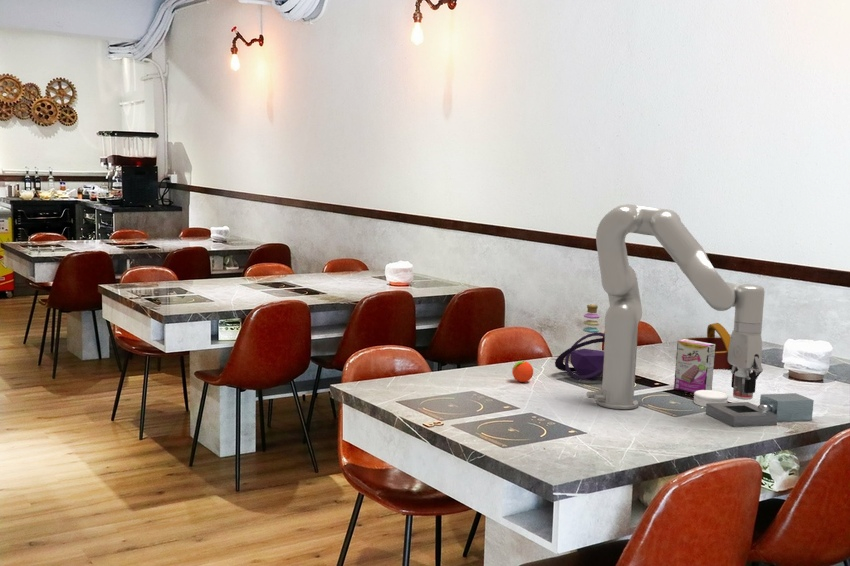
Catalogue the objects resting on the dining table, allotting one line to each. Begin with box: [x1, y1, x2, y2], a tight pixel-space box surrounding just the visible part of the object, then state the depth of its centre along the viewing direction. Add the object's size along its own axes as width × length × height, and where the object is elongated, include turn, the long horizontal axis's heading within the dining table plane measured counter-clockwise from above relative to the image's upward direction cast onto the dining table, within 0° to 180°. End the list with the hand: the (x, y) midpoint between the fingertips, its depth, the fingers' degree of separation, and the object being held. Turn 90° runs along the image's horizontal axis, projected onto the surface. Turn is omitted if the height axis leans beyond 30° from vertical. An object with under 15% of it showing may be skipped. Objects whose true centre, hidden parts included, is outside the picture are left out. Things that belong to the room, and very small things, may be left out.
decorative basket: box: [682, 322, 731, 370], centre depth 338 cm, size 34×29×15 cm
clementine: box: [511, 360, 534, 383], centre depth 293 cm, size 8×7×7 cm
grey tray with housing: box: [705, 392, 815, 428], centre depth 258 cm, size 28×14×6 cm, turn 105°
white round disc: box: [693, 389, 729, 408], centre depth 273 cm, size 10×10×4 cm
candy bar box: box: [673, 338, 715, 394], centre depth 287 cm, size 11×5×16 cm, turn 47°
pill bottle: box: [732, 367, 754, 401], centre depth 255 cm, size 5×5×10 cm
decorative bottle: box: [554, 303, 605, 380], centre depth 302 cm, size 22×21×25 cm
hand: (743, 389), depth 256 cm, fingers closed on pill bottle, 5 cm apart
